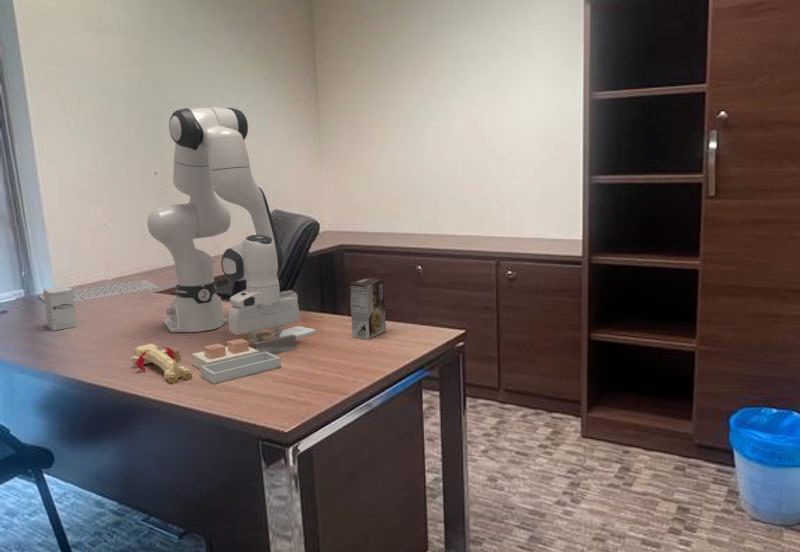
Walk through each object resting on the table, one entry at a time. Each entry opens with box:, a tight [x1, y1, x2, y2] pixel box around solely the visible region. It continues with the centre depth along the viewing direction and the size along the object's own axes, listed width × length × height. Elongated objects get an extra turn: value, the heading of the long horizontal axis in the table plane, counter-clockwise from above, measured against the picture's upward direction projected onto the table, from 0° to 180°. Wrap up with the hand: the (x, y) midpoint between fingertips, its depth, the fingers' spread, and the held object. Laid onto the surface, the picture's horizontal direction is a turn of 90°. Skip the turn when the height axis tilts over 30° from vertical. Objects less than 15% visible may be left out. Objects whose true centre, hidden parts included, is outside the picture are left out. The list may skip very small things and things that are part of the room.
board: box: [191, 345, 259, 370], centre depth 178 cm, size 10×14×3 cm
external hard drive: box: [271, 325, 317, 340], centre depth 203 cm, size 2×8×12 cm
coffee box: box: [349, 277, 387, 340], centre depth 200 cm, size 9×6×16 cm
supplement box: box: [42, 286, 78, 332], centre depth 222 cm, size 7×7×13 cm
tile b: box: [226, 338, 250, 354], centre depth 179 cm, size 4×4×2 cm
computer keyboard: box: [37, 279, 161, 303], centre depth 277 cm, size 43×19×2 cm, turn 128°
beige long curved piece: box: [129, 343, 193, 384], centre depth 174 cm, size 10×9×25 cm
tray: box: [200, 351, 282, 385], centre depth 171 cm, size 8×18×2 cm, turn 128°
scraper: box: [247, 329, 297, 355], centre depth 191 cm, size 14×12×4 cm
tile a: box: [203, 343, 226, 359], centre depth 175 cm, size 4×4×2 cm
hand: (267, 343), depth 190 cm, fingers open, 4 cm apart
